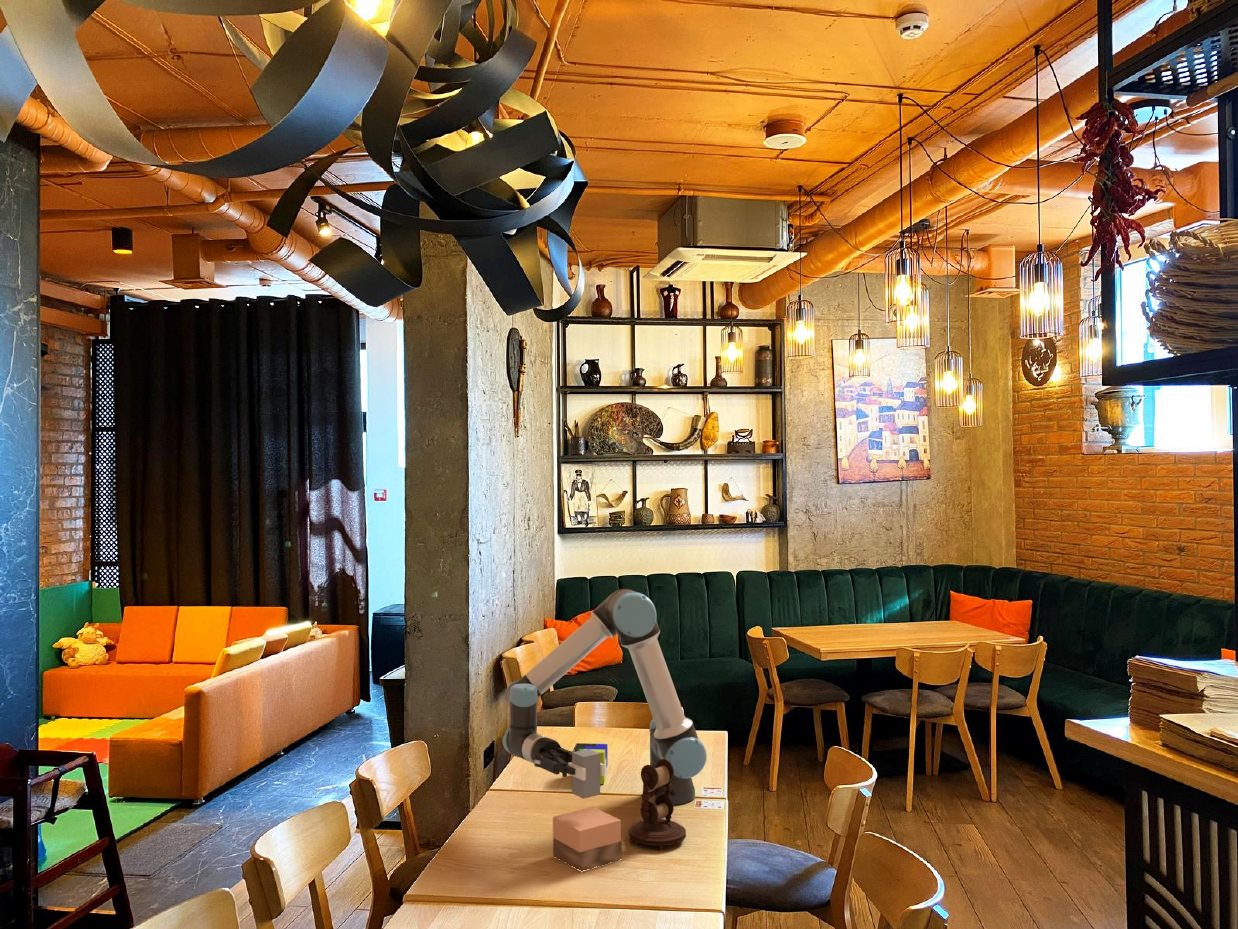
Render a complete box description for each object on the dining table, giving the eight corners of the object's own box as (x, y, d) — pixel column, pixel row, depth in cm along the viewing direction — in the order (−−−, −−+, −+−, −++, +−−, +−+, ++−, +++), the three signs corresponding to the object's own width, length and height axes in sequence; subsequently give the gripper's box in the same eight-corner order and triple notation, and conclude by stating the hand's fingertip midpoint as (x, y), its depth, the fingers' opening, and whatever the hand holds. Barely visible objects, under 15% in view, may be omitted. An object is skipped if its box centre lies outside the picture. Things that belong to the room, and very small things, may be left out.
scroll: (651, 826, 238) (651, 751, 239) (697, 839, 229) (696, 761, 230) (617, 842, 227) (617, 763, 228) (663, 856, 218) (663, 774, 218)
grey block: (588, 789, 221) (588, 749, 221) (600, 794, 217) (600, 753, 217) (571, 793, 218) (572, 752, 218) (583, 798, 214) (583, 757, 214)
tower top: (592, 826, 225) (592, 806, 225) (620, 841, 215) (620, 820, 216) (552, 837, 218) (552, 816, 218) (579, 852, 208) (579, 831, 208)
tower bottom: (592, 846, 225) (592, 827, 225) (621, 861, 215) (621, 840, 216) (553, 858, 217) (553, 838, 218) (581, 874, 208) (581, 852, 208)
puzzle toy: (607, 775, 283) (607, 744, 284) (603, 785, 273) (603, 752, 274) (576, 774, 284) (576, 743, 285) (572, 784, 274) (572, 751, 275)
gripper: (570, 760, 239) (623, 781, 220) (512, 771, 228) (563, 795, 209) (570, 731, 239) (623, 750, 221) (513, 742, 228) (563, 763, 210)
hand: (593, 772), depth 215 cm, fingers closed on grey block, 5 cm apart
